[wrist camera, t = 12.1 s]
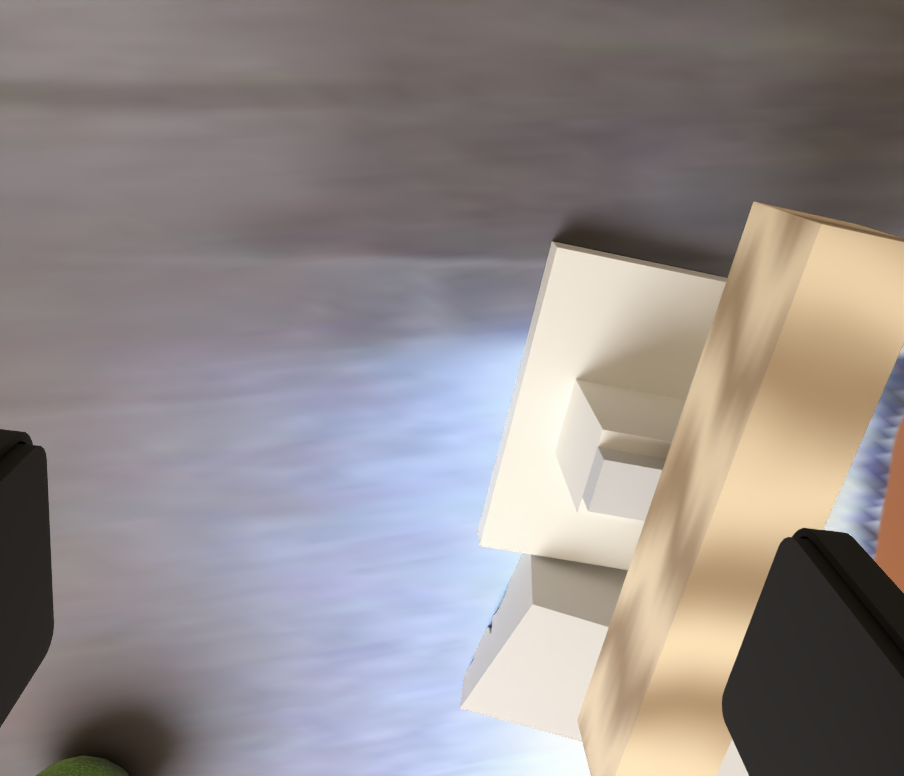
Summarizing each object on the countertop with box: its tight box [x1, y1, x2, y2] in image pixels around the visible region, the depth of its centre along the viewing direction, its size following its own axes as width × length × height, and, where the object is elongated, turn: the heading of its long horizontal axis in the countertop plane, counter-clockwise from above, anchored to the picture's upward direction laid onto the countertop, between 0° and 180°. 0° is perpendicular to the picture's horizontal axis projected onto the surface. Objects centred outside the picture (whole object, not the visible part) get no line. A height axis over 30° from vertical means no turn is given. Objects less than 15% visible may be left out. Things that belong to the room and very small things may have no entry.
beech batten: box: [577, 202, 904, 776], centre depth 30 cm, size 24×4×5 cm, turn 168°
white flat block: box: [460, 553, 749, 776], centre depth 46 cm, size 34×5×10 cm
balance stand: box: [478, 241, 727, 570], centre depth 36 cm, size 16×14×9 cm
